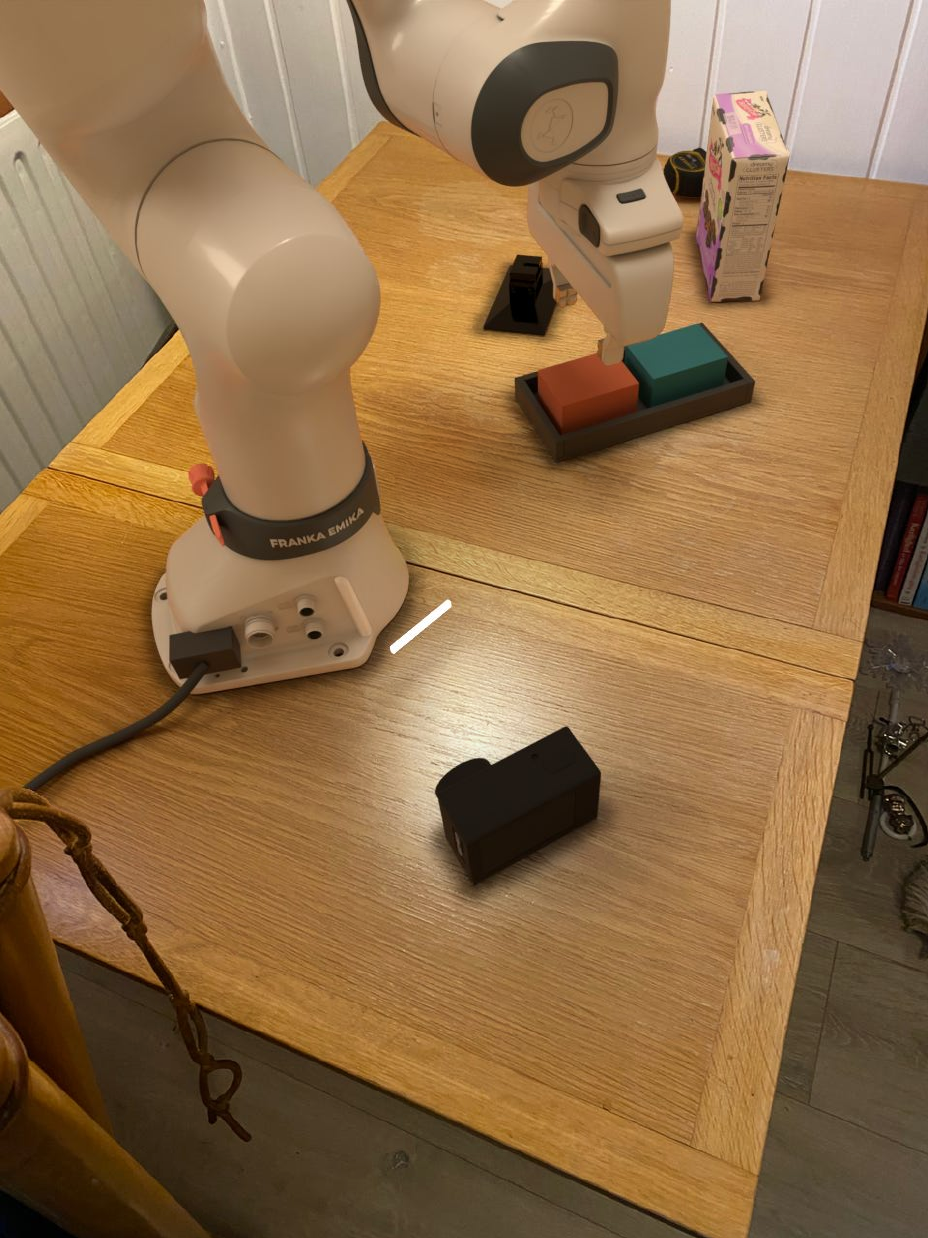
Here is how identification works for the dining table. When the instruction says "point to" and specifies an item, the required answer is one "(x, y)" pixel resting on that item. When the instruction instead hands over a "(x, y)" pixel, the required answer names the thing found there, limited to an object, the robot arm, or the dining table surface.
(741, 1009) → the dining table surface
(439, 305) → the dining table surface
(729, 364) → the dark brown tray
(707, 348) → the teal block
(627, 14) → the robot arm
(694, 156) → the tape measure
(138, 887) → the dining table surface
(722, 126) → the candy box
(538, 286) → the black flat based block
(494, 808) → the digital camera
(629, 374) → the orange rectangular block
